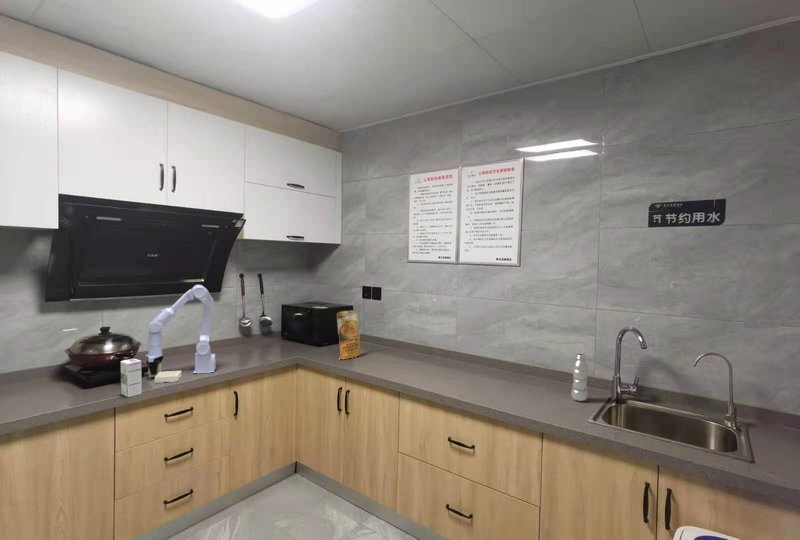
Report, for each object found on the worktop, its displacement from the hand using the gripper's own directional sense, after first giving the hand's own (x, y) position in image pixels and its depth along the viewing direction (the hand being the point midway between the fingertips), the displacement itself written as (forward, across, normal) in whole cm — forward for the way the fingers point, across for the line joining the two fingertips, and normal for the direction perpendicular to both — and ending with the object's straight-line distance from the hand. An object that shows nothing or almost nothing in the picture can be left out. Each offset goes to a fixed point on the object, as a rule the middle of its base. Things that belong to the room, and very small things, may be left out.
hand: (155, 373), depth 196 cm
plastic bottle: (+2, +79, +182) cm, 198 cm away
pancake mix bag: (+2, -16, +98) cm, 99 cm away
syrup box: (+2, +26, -2) cm, 26 cm away
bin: (+2, +8, +8) cm, 11 cm away
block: (+2, 0, 0) cm, 2 cm away
